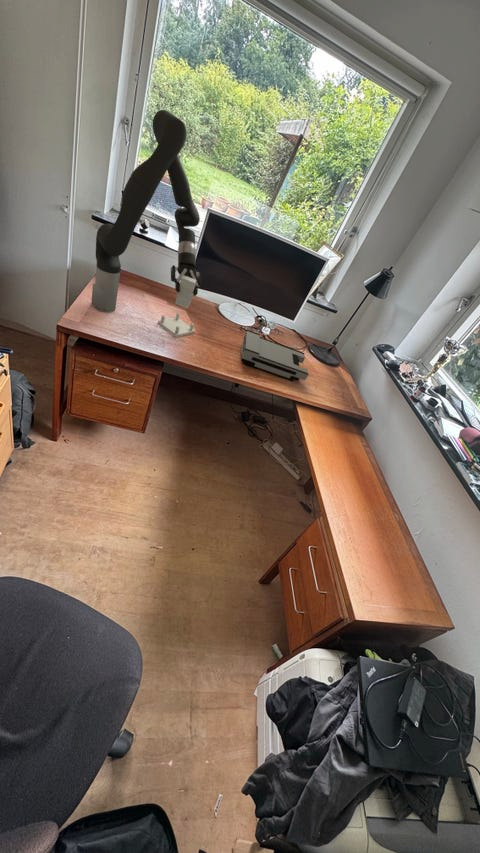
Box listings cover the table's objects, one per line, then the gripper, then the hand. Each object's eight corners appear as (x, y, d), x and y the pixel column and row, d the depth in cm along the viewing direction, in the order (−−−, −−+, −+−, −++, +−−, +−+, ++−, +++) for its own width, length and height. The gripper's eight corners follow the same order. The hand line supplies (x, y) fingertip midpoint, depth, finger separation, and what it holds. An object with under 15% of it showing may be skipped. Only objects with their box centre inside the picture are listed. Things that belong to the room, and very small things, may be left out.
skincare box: (189, 305, 155) (197, 280, 147) (187, 309, 151) (194, 283, 144) (177, 300, 154) (183, 274, 146) (174, 303, 150) (181, 277, 143)
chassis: (175, 337, 154) (178, 329, 151) (157, 323, 157) (159, 314, 155) (194, 332, 163) (196, 325, 160) (176, 319, 166) (178, 311, 164)
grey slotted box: (301, 386, 163) (309, 372, 158) (239, 364, 157) (245, 349, 152) (298, 364, 179) (305, 351, 174) (241, 343, 173) (246, 329, 168)
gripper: (173, 247, 141) (173, 287, 141) (205, 255, 148) (205, 294, 148) (168, 255, 147) (167, 293, 148) (198, 262, 154) (198, 299, 155)
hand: (186, 293), depth 148 cm, fingers closed on skincare box, 7 cm apart
